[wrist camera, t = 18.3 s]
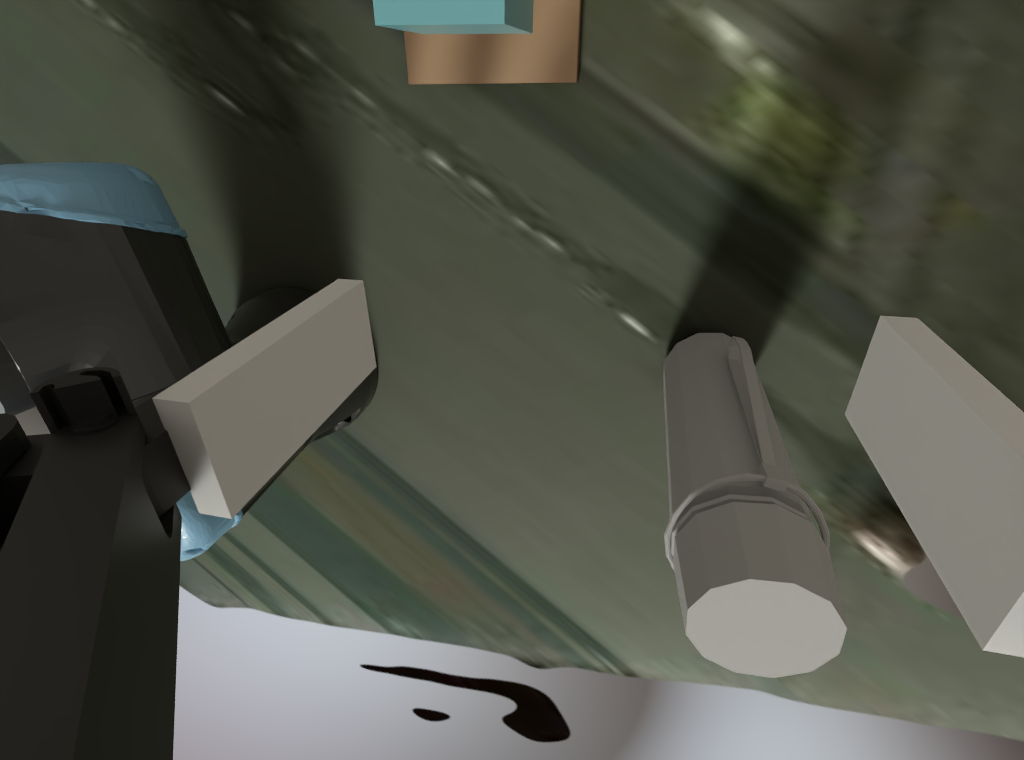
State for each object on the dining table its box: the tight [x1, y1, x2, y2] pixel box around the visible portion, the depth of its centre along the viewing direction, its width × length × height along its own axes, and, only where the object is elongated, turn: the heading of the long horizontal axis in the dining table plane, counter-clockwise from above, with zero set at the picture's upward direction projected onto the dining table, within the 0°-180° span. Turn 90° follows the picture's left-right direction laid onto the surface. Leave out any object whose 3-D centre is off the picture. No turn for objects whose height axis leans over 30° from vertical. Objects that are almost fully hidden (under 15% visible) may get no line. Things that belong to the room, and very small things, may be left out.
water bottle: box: [663, 333, 847, 678], centre depth 33 cm, size 9×8×25 cm
